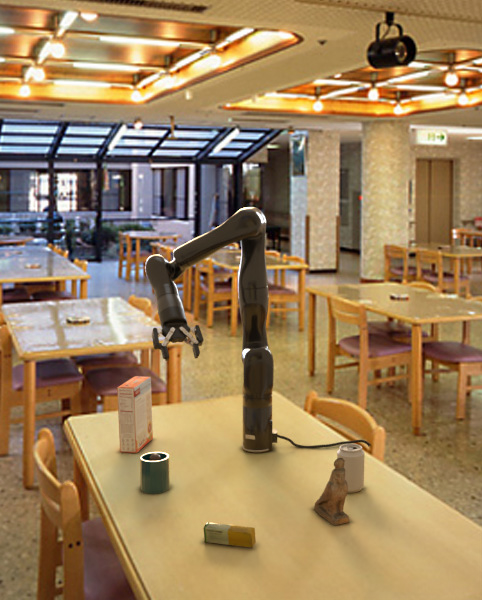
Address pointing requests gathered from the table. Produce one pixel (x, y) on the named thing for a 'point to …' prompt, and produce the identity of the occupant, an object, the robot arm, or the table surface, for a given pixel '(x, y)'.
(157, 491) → the cup
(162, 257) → the robot arm
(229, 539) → the medication box
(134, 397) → the cracker box
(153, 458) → the game pawn
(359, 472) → the can
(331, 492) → the worn brown figurine
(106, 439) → the table surface
